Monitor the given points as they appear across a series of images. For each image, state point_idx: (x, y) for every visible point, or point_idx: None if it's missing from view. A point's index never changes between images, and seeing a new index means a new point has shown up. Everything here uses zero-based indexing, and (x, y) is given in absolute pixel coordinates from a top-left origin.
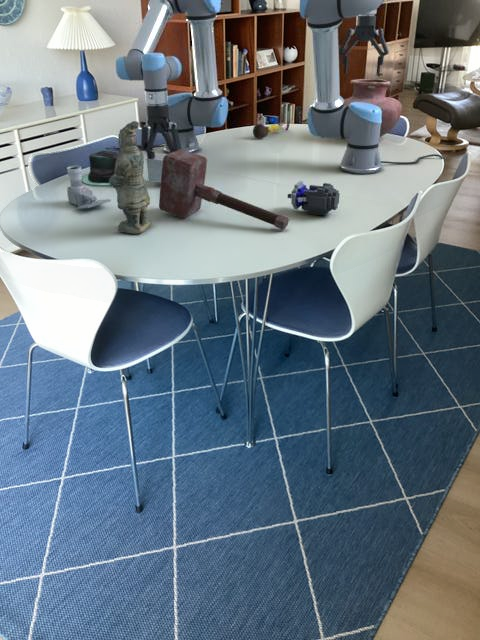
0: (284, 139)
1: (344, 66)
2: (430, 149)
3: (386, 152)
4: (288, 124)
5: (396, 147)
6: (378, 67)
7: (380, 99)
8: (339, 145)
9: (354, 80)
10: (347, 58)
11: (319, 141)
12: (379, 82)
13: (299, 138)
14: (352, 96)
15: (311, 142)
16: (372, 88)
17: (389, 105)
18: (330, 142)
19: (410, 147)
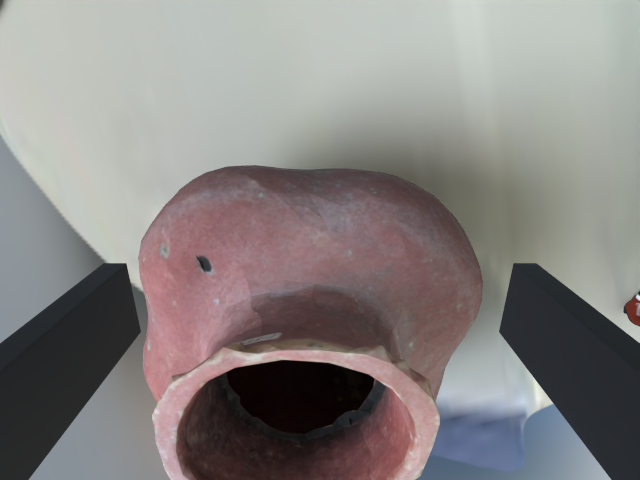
0: (627, 162)
1: (587, 306)
2: (34, 180)
3: (167, 70)
4: (638, 321)
5: (159, 171)
6: (58, 305)
7: (216, 319)
8: (381, 130)
9: (416, 443)
10: (631, 441)
11: (474, 174)
12: (197, 375)
13: (563, 199)
14: (395, 343)
15: (505, 146)
16: (253, 337)
17: (149, 259)
18: (427, 171)
19: (112, 188)
